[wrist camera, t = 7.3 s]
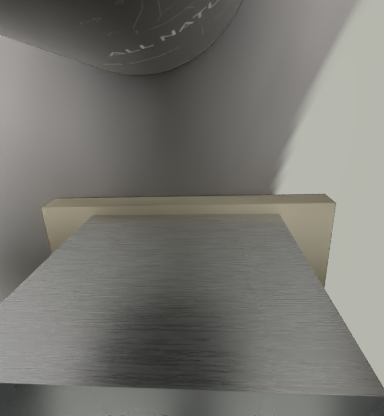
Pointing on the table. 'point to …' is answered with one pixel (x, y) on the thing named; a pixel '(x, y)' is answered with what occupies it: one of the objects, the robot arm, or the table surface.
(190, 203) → the shaft plate
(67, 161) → the table surface
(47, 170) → the table surface
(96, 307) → the hollow square tube
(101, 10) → the supplement bottle
